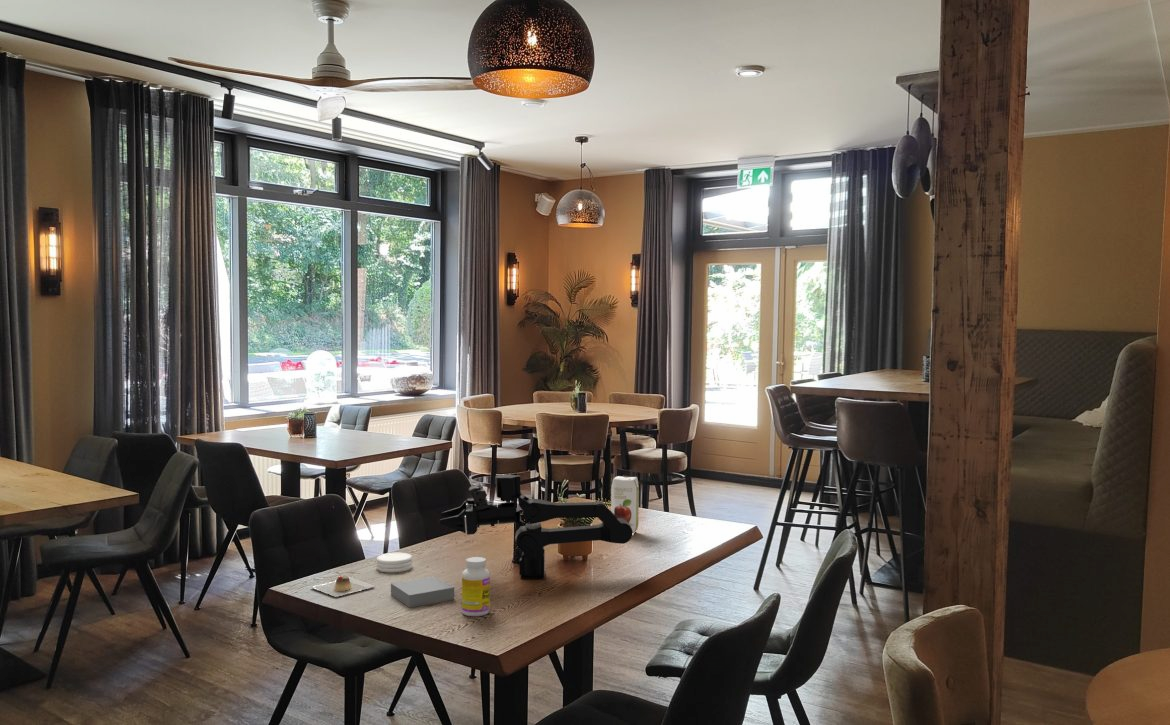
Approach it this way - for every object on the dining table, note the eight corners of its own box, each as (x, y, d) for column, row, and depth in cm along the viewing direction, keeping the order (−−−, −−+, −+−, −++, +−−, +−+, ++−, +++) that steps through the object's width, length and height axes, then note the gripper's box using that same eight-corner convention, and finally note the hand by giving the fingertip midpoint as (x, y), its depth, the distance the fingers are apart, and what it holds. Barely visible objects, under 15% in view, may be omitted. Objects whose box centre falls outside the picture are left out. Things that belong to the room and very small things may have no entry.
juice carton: (614, 530, 290) (615, 475, 289) (639, 532, 287) (640, 476, 287) (609, 535, 282) (610, 478, 282) (635, 537, 280) (635, 480, 280)
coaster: (374, 565, 244) (374, 553, 244) (408, 562, 248) (408, 550, 248) (379, 574, 235) (379, 562, 235) (415, 571, 239) (415, 559, 239)
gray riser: (434, 587, 223) (434, 576, 223) (454, 599, 213) (454, 587, 213) (390, 594, 216) (390, 583, 216) (409, 607, 206) (409, 595, 206)
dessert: (309, 591, 221) (309, 572, 221) (349, 581, 230) (349, 563, 230) (335, 601, 213) (335, 582, 213) (375, 590, 222) (375, 572, 222)
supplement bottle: (484, 618, 199) (484, 564, 198) (457, 616, 200) (457, 562, 200) (493, 609, 205) (493, 556, 205) (467, 607, 207) (467, 555, 206)
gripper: (495, 478, 241) (440, 482, 239) (495, 490, 223) (435, 495, 221) (498, 517, 242) (442, 522, 240) (498, 532, 223) (438, 537, 221)
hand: (440, 518), depth 230 cm, fingers open, 9 cm apart
